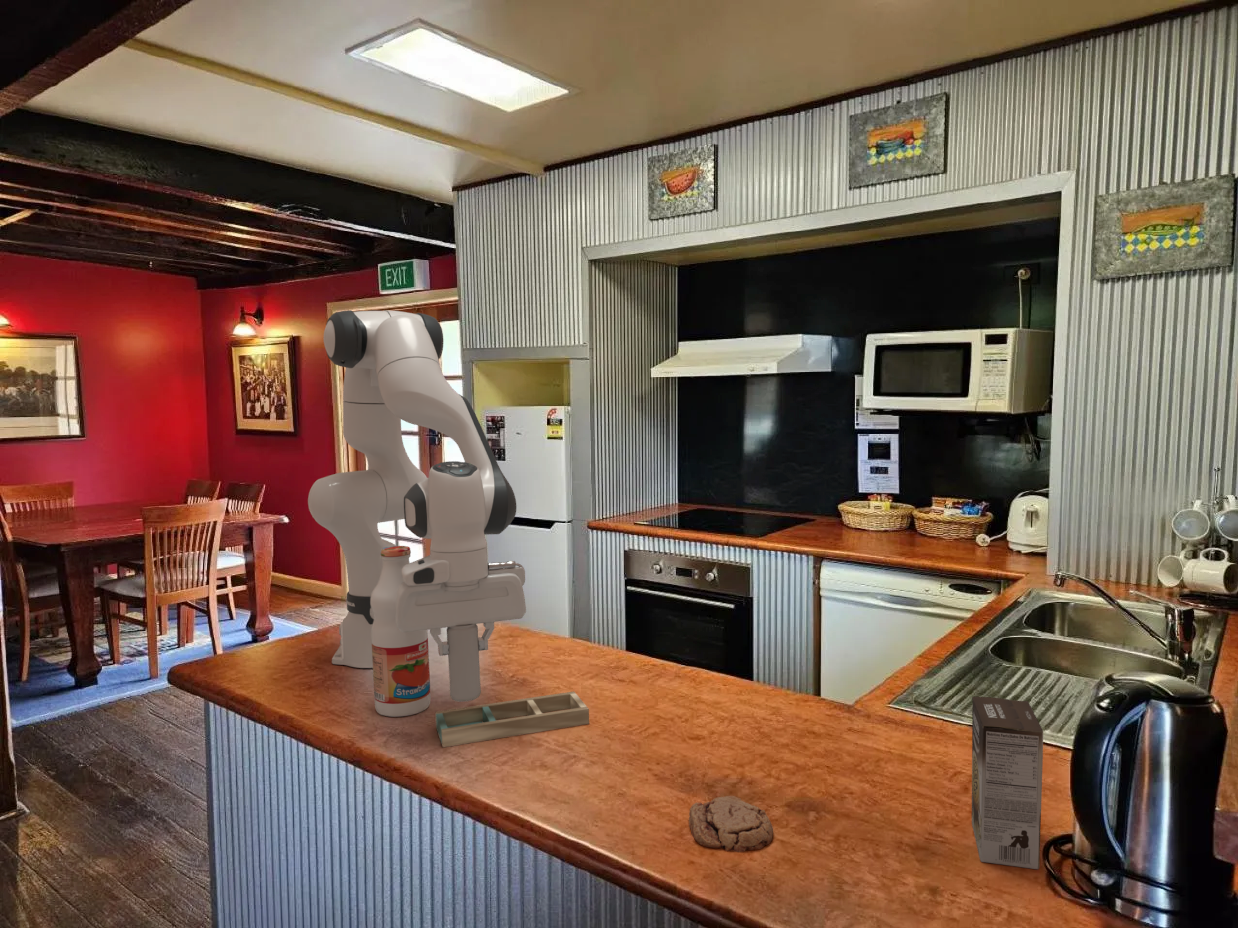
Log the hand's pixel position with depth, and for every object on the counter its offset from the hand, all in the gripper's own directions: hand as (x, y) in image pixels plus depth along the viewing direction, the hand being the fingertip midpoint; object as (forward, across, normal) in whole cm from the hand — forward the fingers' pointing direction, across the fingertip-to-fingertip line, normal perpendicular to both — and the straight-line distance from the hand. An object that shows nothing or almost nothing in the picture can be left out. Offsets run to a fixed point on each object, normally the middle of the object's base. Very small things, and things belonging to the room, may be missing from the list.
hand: (463, 651), depth 132 cm
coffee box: (+14, -53, +57) cm, 79 cm away
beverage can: (+8, 0, 0) cm, 8 cm away
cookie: (+14, -25, +42) cm, 51 cm away
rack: (+13, -7, 0) cm, 15 cm away
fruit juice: (+13, +9, -15) cm, 22 cm away
